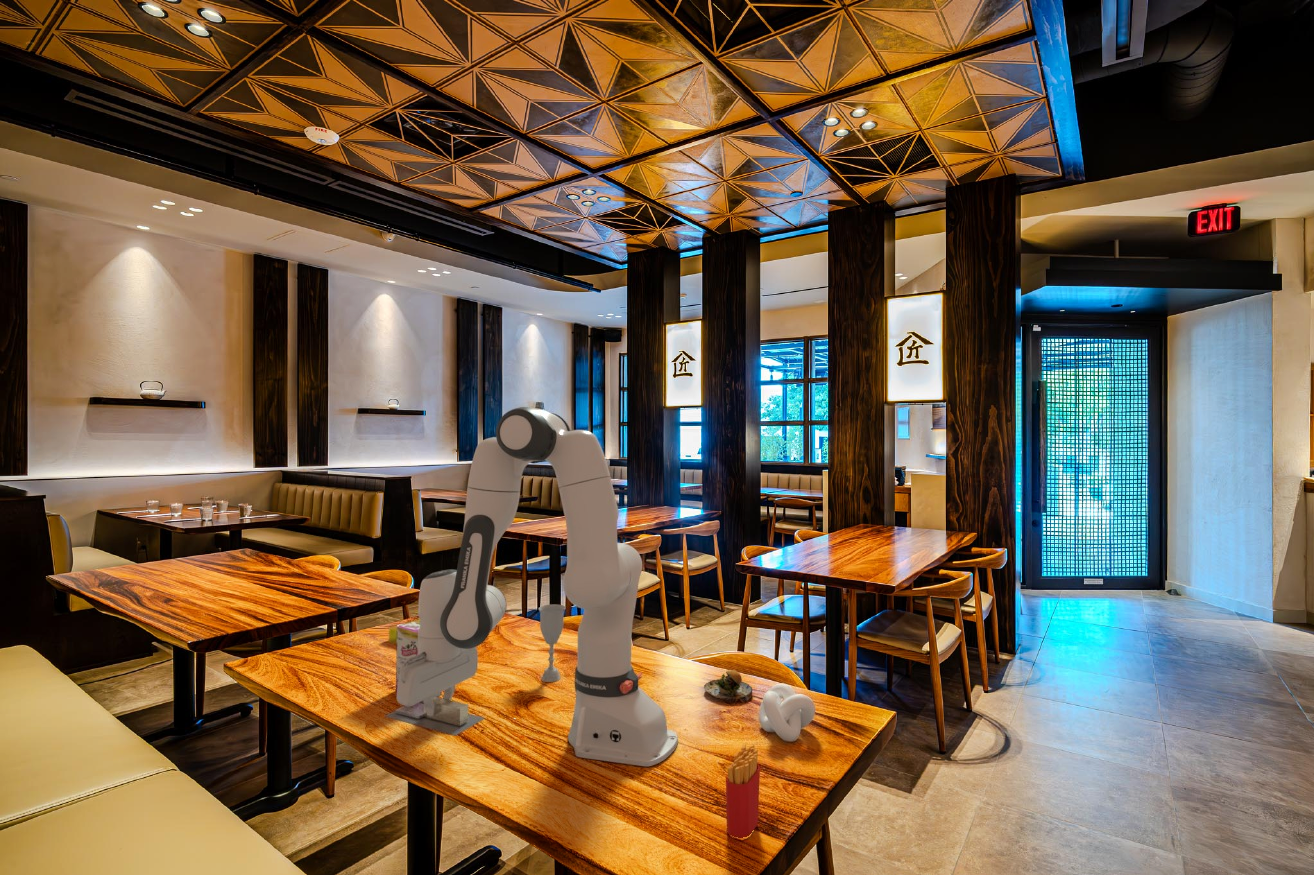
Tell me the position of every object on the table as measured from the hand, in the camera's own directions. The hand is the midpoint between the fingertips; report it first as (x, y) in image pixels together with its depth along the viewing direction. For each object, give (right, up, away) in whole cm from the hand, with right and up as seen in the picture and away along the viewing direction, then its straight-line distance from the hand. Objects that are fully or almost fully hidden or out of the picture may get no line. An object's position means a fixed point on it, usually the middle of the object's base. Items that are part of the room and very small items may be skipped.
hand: (438, 711), depth 133 cm
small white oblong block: (-1, -1, +1) cm, 2 cm away
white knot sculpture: (+73, -4, -3) cm, 73 cm away
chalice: (+20, -3, +26) cm, 33 cm away
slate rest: (-1, -3, +1) cm, 3 cm away
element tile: (-25, -4, +57) cm, 62 cm away
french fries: (+60, -3, -36) cm, 70 cm away
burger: (+64, -4, +18) cm, 67 cm away
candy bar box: (-9, -3, +13) cm, 17 cm away
